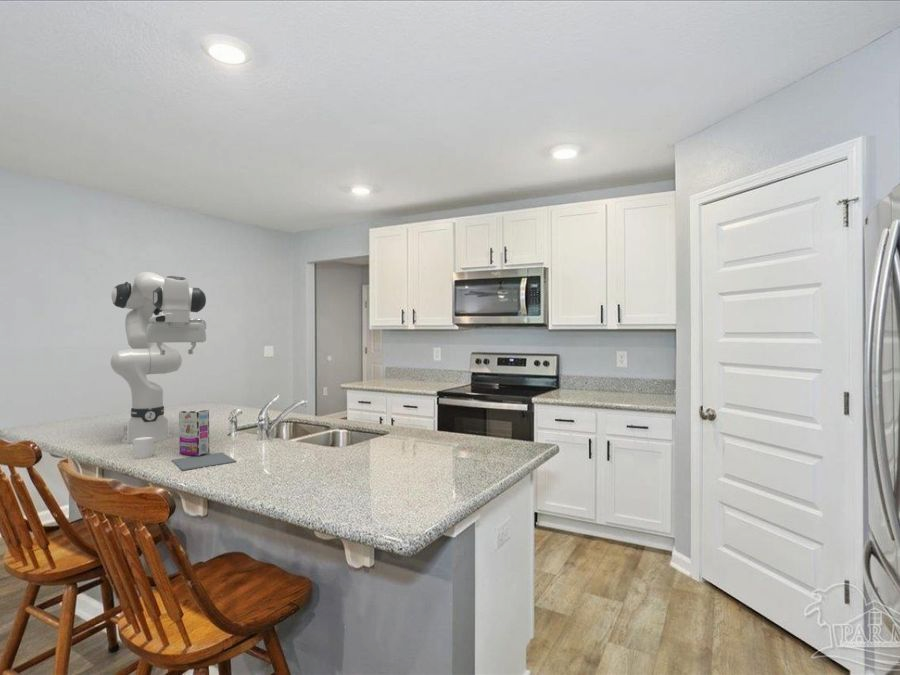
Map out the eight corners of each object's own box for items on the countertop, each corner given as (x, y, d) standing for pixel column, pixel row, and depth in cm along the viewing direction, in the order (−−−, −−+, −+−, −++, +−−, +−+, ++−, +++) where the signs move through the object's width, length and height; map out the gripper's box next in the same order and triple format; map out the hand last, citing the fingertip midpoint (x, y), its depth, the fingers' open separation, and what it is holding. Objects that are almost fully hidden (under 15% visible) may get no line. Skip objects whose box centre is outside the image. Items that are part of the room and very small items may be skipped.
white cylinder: (158, 455, 183) (158, 436, 183) (145, 459, 176) (145, 440, 176) (141, 454, 183) (141, 436, 183) (127, 459, 177) (127, 439, 177)
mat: (171, 461, 174) (171, 459, 174) (222, 453, 185) (222, 452, 185) (182, 471, 161) (182, 469, 161) (236, 462, 172) (236, 461, 172)
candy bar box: (210, 454, 182) (209, 409, 183) (198, 456, 178) (197, 411, 178) (191, 452, 187) (190, 409, 188) (178, 454, 183) (178, 410, 183)
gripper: (204, 319, 196) (204, 353, 196) (144, 318, 183) (144, 355, 183) (208, 318, 191) (208, 354, 191) (147, 317, 178) (147, 355, 178)
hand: (176, 354), depth 187 cm, fingers open, 8 cm apart
